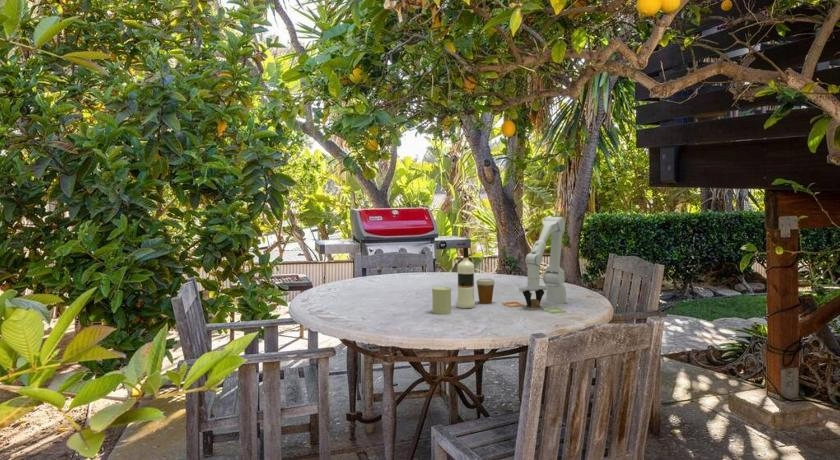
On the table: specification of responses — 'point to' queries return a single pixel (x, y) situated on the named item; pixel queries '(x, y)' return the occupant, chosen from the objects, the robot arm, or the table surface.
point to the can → (441, 300)
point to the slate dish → (532, 308)
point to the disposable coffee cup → (485, 290)
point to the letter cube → (534, 303)
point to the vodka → (465, 282)
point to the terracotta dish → (512, 304)
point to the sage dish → (554, 310)
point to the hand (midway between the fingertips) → (533, 305)
